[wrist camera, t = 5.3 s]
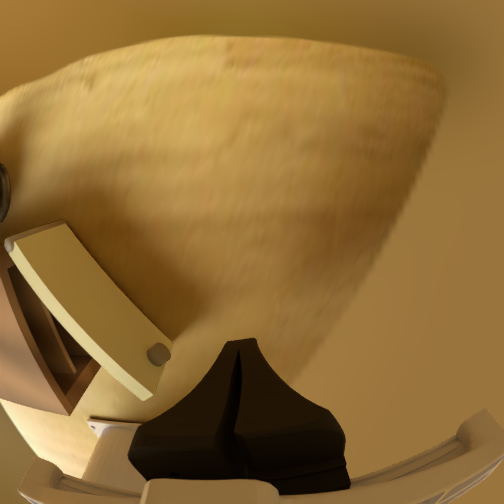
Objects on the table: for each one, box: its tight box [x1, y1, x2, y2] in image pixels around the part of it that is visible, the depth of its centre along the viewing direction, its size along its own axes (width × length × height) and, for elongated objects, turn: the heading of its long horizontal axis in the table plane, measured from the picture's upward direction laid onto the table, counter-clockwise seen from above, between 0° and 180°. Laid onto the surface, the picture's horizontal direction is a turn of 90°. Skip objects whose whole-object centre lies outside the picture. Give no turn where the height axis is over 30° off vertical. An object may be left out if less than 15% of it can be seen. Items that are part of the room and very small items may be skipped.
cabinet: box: [0, 246, 101, 416], centre depth 14 cm, size 11×11×6 cm
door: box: [4, 220, 173, 401], centre depth 14 cm, size 11×2×6 cm, turn 40°
